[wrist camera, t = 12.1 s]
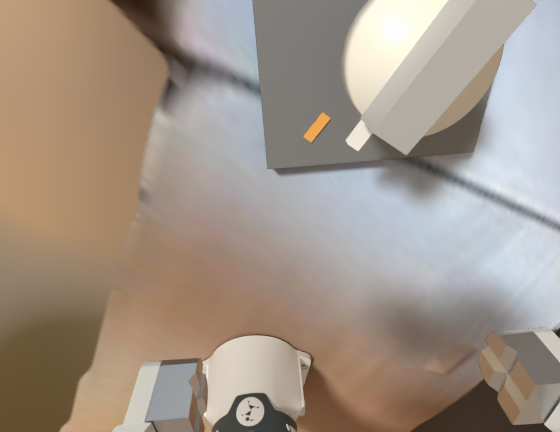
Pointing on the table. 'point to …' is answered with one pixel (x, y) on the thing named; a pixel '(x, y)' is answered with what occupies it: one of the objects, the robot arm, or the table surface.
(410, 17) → the cap
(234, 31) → the table surface
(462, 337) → the table surface
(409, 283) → the table surface
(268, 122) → the lock base
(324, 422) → the table surface
